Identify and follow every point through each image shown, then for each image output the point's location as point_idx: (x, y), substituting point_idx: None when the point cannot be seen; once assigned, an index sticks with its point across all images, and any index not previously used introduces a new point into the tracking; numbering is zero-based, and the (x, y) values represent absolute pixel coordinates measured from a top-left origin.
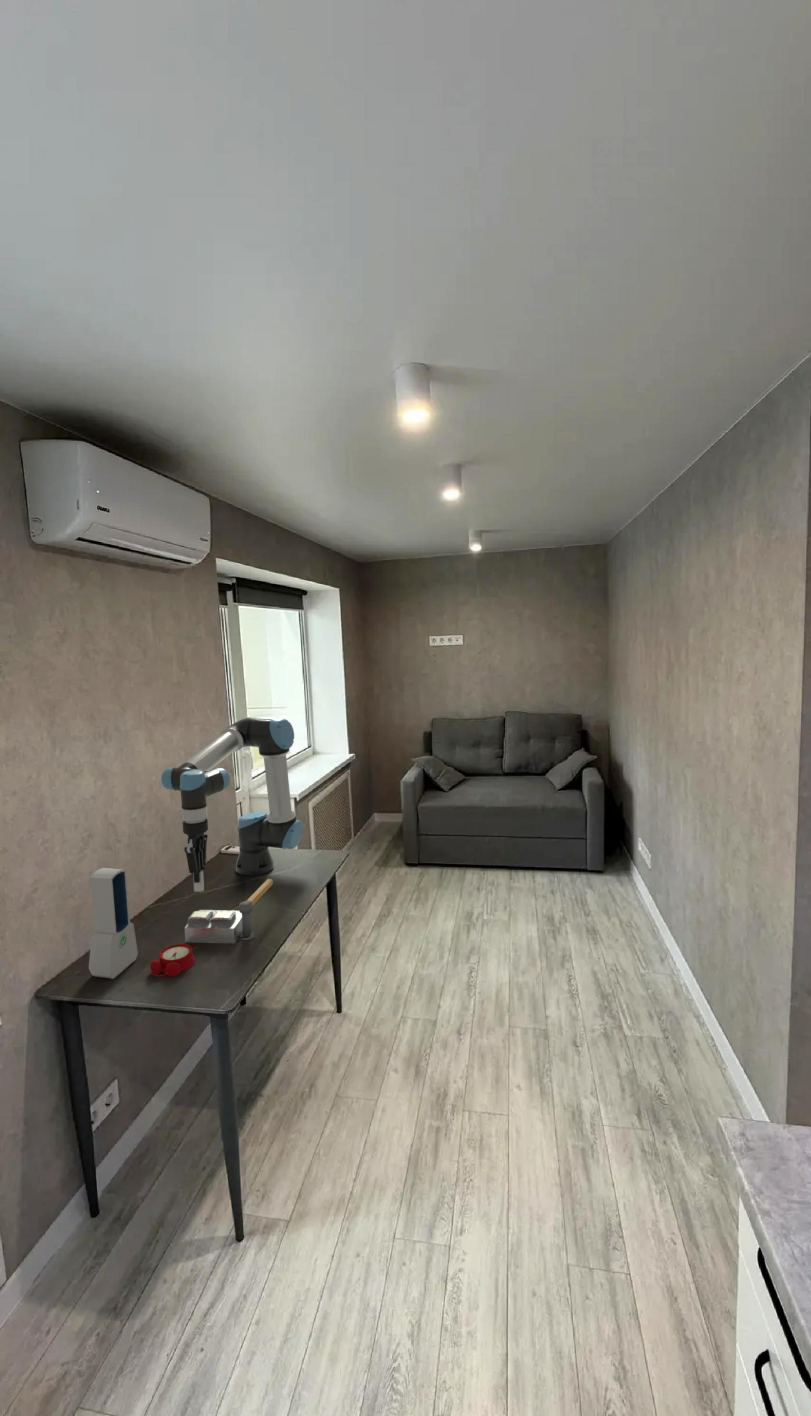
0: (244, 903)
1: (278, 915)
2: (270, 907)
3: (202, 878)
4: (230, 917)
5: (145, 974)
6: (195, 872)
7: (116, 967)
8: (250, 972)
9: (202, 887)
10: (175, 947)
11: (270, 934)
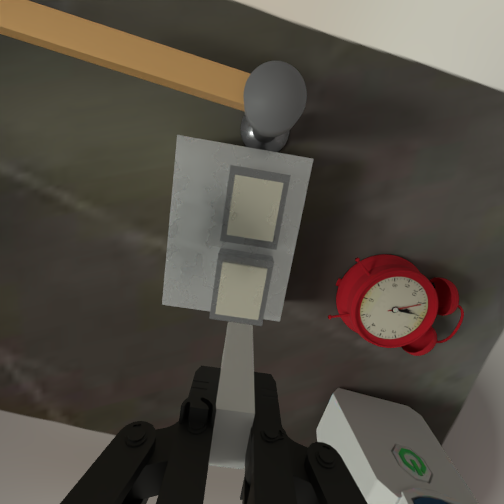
0: (271, 102)
1: None
2: (61, 73)
3: (237, 369)
4: (273, 177)
5: None
6: (338, 467)
7: (408, 419)
8: (473, 85)
9: (248, 336)
10: (362, 317)
11: (259, 47)
